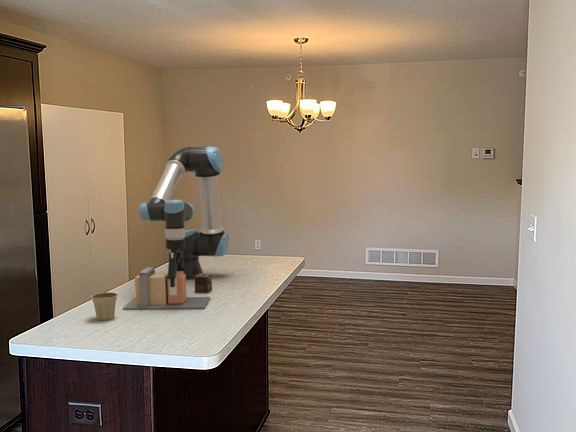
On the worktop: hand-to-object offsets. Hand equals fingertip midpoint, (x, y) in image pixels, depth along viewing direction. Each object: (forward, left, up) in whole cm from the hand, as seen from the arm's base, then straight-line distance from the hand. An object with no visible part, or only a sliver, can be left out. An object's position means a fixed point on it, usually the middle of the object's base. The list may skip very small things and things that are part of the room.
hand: (176, 290), depth 224 cm
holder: (0, -4, -6) cm, 7 cm away
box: (-21, +7, -6) cm, 23 cm away
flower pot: (+19, -23, -6) cm, 30 cm away
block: (0, 0, -4) cm, 4 cm away
